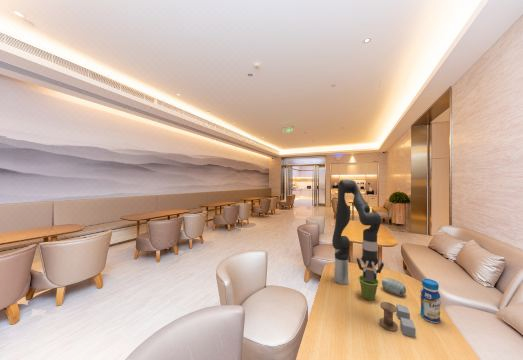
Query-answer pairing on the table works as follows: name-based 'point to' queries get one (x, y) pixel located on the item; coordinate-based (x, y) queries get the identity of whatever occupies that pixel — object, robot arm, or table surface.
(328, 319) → the table surface
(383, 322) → the bobbin
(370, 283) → the plant pot
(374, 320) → the table surface
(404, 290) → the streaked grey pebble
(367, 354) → the table surface
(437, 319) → the beverage bottle
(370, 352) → the table surface
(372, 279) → the tan rectangular block
